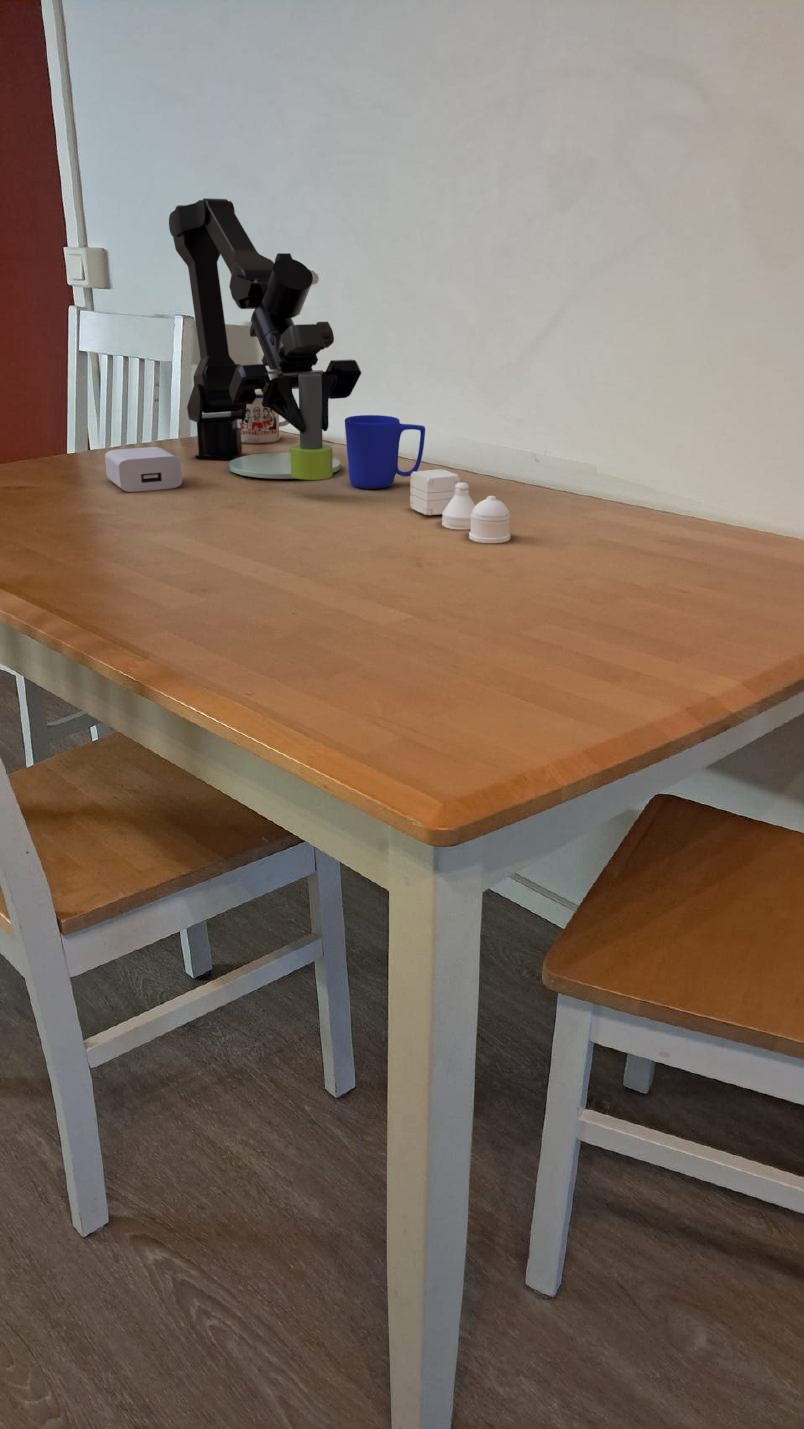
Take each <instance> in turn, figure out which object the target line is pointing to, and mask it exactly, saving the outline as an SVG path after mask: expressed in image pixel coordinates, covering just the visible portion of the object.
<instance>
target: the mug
mask: <svg viewBox="0 0 804 1429" xmlns="http://www.w3.org/2000/svg"><path fill="white" fill-rule="evenodd" d="M400 421H401V420H400V419H399V418H398V417H396V416H389V415H380V414H361V415H352V416H348V417H346V418H345V419H344V428H345V429H344V431H345V442H346V454H347V455H346V456H347V466H348V467H347V468H348V477H349V482H350V484H351V485H353V487H355V488H357V489H358V488H359V489H364V490H379V489H385V488H386V489H387V488H389V487H391V486H392V485H393V484H394V482H395V478H396V475H398V476H401V477H411V474H412V472H416V471H419V468H420V466H421V463H422V458H423V454H424V448H425V447H424V446H425V437H426V427H425V426H424V425H420V424H411V423H401V422H400ZM406 430H407V431H408V430H416V431H419V432H420V435H419V446H418V453H417V458H416V461H415V464H414V465H413V467H412V468H411V469H410V470H408V471H402V470H400V469H399V450H400V449H399V448H400V441H401V436H402V433H403V432H404V431H406Z"/></svg>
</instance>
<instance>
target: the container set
mask: <svg viewBox="0 0 804 1429" xmlns="http://www.w3.org/2000/svg"><path fill="white" fill-rule="evenodd" d="M460 481H461V478H460V476H459V474H457V473H454V472H451V471H449V470H447V469H441V468H440V469H429V470H417V471H416V472H412V474H411V476H410V488H409V489H410V492H409V493H410V494H409V496H410V497H409V502H410V503H409V505H410V508H411V509H412V510H414V511H416V512H418V513H421V514H422V515H424V516H435V515H442V516H441V521H442V522H441V526H442V527H443V528H446V529H450V530H459V531H460V530H463V531H464V530H465V531H467V530H470V531H469V533H468V540H471V541H473V542H476V543H480V544H481V543H483V544H502V543H507V542H509V541H510V540H511V533H510V526H511V524H510V523H511V514H510V511H509V508H508V507H507V505H506V504H505V503H504V502H502V501H501V500H499V499H497V498H496V496H495V495H488V496H487V497H486V498H485V499H483V500H481V501H479V502H477V504H475V503H474V501H473V500H472V498H471V496H470V495H469V492H470V489H469V488H470V486H469V484H468V483H467V482H460Z"/></svg>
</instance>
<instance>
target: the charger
mask: <svg viewBox="0 0 804 1429" xmlns="http://www.w3.org/2000/svg"><path fill="white" fill-rule="evenodd" d="M104 460H105V461H104V462H105V472H106V477H107V479H108V480H110V481H111V482H112V483H114V484H115V485H116V486H117V487H118V488H119V489H121V490H122V491H124V492H129V493H134V492H135V493H136V492H146V491H147V492H149V491H159V490H160V491H161V490H171V489H176V488H179V487H180V486H181V485H182V484H183V475H182V461H181V459H180V458H179V457H177V456H176V455H174V454H172V453H170V452H168V451H166V450H165V449H163V448H162V447H158V446H150V447H149V446H147V447H135V448H134V447H132V448H119V449H112V450H109V451H107V452H106V453H105V454H104Z"/></svg>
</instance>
